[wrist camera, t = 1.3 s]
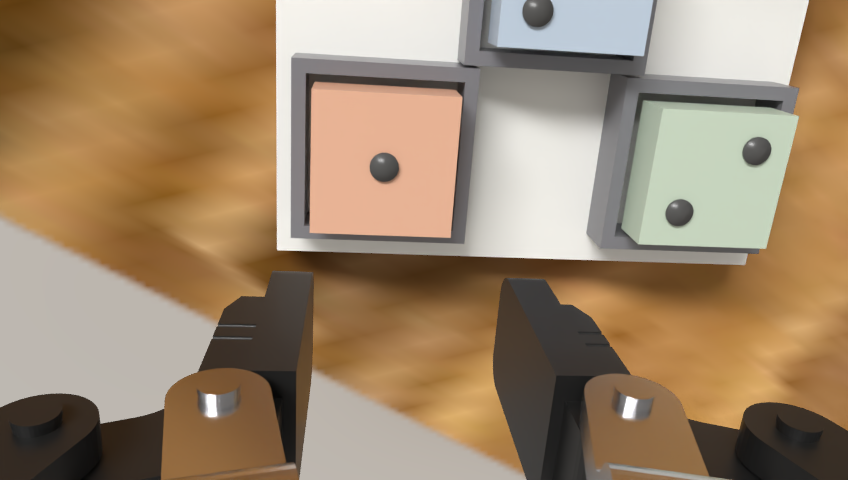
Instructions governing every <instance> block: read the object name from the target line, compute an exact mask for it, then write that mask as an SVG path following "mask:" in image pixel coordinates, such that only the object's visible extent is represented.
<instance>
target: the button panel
mask: <svg viewBox="0 0 848 480" xmlns="http://www.w3.org/2000/svg"><path fill="white" fill-rule="evenodd" d="M808 2H809V0H653V5H652V11H651V17H650V23H649V28H648V34H647V40H646V46H645V52H644V56H634V55H618V54H602V53H587V52H571V51H555V50H540V49H524V48H508V47H497V46H494V45H492V44H490V43H488V34H489V24H490V13H491V3H492V0H276V101H277V250H289V251H320V252H352V253H383V254H414V255H446V256H477V257H508V258H540V259H571V260H602V261H634V262H665V263H697V264H728V265H745V264H746V260H747V255H748V253H749V254H759V250H760V249H759V248H730V247H701V246H672V245H643V244H637V243H636V242H635V241H634V240H633V239H632V238H631V237H630V236H629V235H628V234H627V233H626V232H625V231H623V230H622V229H621V226H622V221H623V215H624V209H625V203H626V197H627V192H628V186H629V180H630V174H631V168H632V163H633V157H634V151H635V145H636V140H637V134H638V128H639V122H640V116H641V111H642V105H643V100H645V101H663V102H680V103H698V104H715V105H733V106H751V107H768V108H774V109H777V110H780V111H784V112H787V113H790V114H793V112H794V108H795V104H796V100H797V95H798V91H799V88H797V87H793V86H788V85H789V81H790V77H791V73H792V69H793V65H794V61H795V56H796V52H797V48H798V44H799V40H800V36H801V31H802V27H803V23H804V19H805V15H806V11H807V7H808ZM314 82H329V83H347V84H364V85H382V86H399V87H417V88H434V89H452V90H456V91H457V92H458V93H459V94H460V95H461V96H462V97H463V98H462V109H461V121H460V133H459V144H458V156H457V168H456V179H455V191H454V203H453V214H452V226H451V238H441V237H412V236H383V235H354V234H325V233H310V160H311V89H312V87H313V84H314Z"/></svg>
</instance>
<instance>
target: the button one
mask: <svg viewBox="0 0 848 480" xmlns="http://www.w3.org/2000/svg"><path fill="white" fill-rule="evenodd" d="M462 98H463V97H462V96H461V95H460V94H459V93H458V92H457V91H456V90H452V89H434V88H417V87H399V86H382V85H364V84H347V83H329V82H314V84H313V87H312V89H311V160H310V233H325V234H354V235H383V236H412V237H441V238H451V226H452V214H453V203H454V191H455V179H456V168H457V156H458V144H459V133H460V121H461V109H462Z"/></svg>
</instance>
